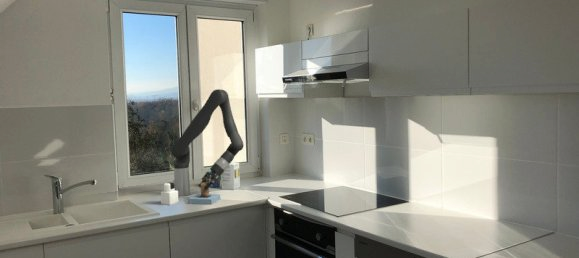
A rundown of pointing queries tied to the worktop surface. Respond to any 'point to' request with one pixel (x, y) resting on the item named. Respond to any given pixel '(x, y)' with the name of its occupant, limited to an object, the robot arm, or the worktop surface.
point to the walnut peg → (204, 192)
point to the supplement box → (231, 177)
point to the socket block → (204, 199)
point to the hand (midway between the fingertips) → (202, 188)
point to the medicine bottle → (169, 194)
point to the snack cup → (215, 182)
